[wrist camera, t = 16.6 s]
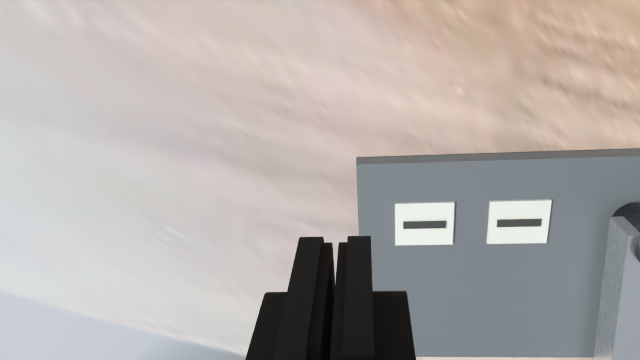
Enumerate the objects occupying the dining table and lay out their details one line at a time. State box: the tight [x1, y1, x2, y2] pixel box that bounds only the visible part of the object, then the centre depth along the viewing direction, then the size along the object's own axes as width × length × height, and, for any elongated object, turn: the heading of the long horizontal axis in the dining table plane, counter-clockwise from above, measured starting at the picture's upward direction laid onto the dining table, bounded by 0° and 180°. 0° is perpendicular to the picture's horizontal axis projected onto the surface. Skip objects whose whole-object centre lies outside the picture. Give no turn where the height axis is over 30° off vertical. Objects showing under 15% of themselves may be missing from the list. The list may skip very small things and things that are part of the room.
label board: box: [356, 148, 640, 357], centre depth 41 cm, size 22×18×2 cm
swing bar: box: [593, 203, 640, 360], centre depth 40 cm, size 22×4×4 cm, turn 6°
